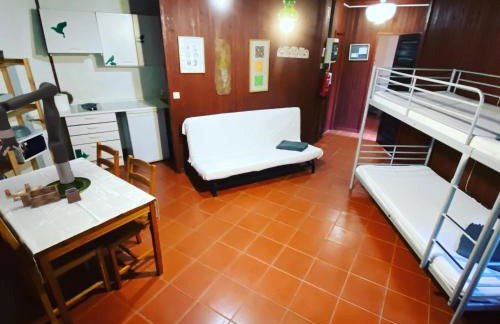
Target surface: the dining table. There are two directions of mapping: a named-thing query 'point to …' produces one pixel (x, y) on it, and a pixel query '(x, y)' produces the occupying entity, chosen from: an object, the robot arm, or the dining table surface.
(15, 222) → the dining table surface
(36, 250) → the dining table surface
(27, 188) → the lid
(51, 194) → the toolbox
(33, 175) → the dining table surface
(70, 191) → the lighter
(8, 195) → the wooden block with peg
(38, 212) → the dining table surface
